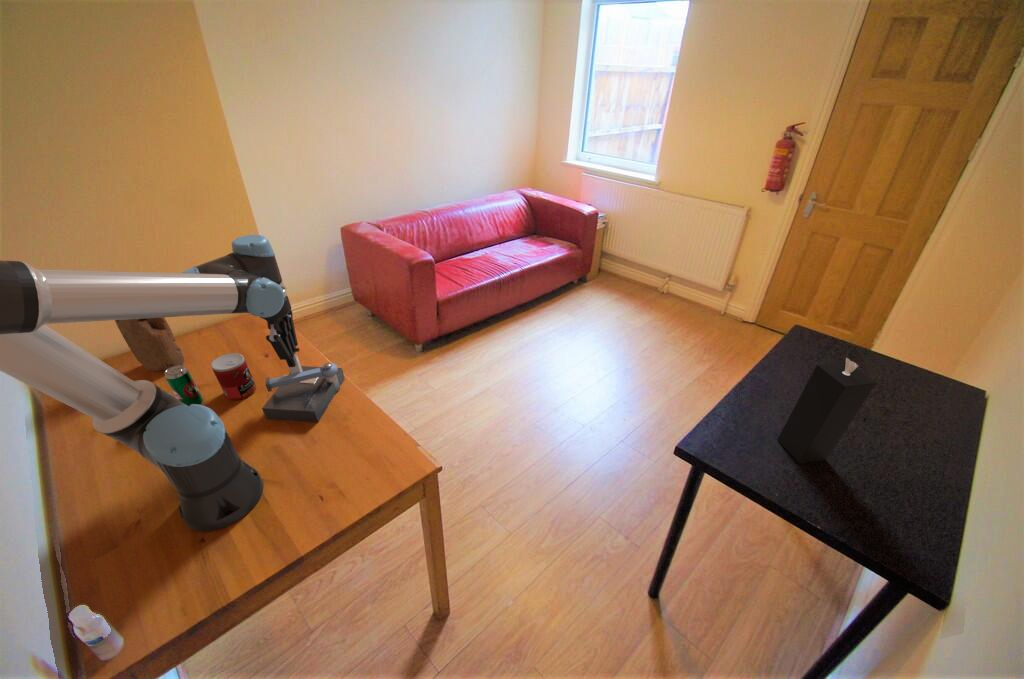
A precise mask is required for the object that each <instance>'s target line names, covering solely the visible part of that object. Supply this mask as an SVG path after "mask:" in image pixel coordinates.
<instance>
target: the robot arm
mask: <svg viewBox="0 0 1024 679" xmlns="http://www.w3.org/2000/svg"><path fill="white" fill-rule="evenodd" d="M231 248H232V249H231V251H232V252H230V253H228V254H226V255H224V256H220V257H218V258H216V259H213V260H209V261H207V262H205V263H201V264H199V265H194V266H193V267H191V268H189V269H187V270H184V271H182V272H156V271H155V272H153V271H152V272H151V271H150V272H147V271H111V270H81V269H80V270H76V269H75V270H74V269H44V268H43V269H42V268H41V269H40V268H39V269H37V268H35V267H34V266H32V265H30V264H29V263H28V262H26V261H21V260H19V261H18V260H2V259H1V260H0V372H2V373H4V374H6V375H7V376H9V377H12V378H14V379H15V380H17V381H20V382H22V383H23V384H25V385H28V386H29V387H32V388H33V389H36V390H38V391H39V392H41V393H43V394H45V395H47V396H49V397H51V398H53V399H55V400H57V401H59V402H61V403H62V404H65V405H67V406H69V407H70V408H72V409H75V410H76V411H79V412H80V413H83V414H84V415H87V417H90V418H92V427H93V428H94V430H96V431H97V432H99V433H101V434H103V435H105V436H107V437H109V438H111V439H114V440H115V441H117V442H118V443H121V444H123V445H125V446H127V447H129V448H130V449H132V450H133V451H135V452H136V453H138V454H139V455H141V456H142V457H143V458H145V459H146V460H147V461H148V462H150V463H151V464H152V465H154V466H155V467H157V468H158V469H159V470H160V471H161V472H162V473H163V475H165V477H166V478H167V480H168V481H169V483H171V486H172V487H173V488H174V489H175V491H176V493H177V494H178V495H177V496H178V497H177V499H178V502H179V507H178V510H179V516H180V518H181V519H182V520H183V523H185V525H186V527H189V529H191V530H192V531H196V532H213V531H217V530H220V529H223V528H227V527H228V526H230V525H233V524H234V523H236V522H239V521H240V520H241V519H242V518H244V517H245V516H246V515H247V514H249V513H250V512H251V511H252V510H253V509H254V508H255V506H256V505H257V504H258V502H259V500H260V499H261V497H262V495H263V491H264V482H263V479H262V477H261V475H260V473H259V472H258V471H257V470H256V469H255V468H254V467H253V466H251V465H250V464H249V463H247V462H245V461H244V460H242V459H241V458H240V455H239V453H238V451H237V450H236V448H235V446H234V444H233V442H232V440H231V438H230V436H229V434H228V433H227V430H226V427H225V424H224V422H223V421H222V419H221V418H220V416H218V414H217V413H216V412H215V411H214V410H213V409H212V408H210V407H207V406H206V405H202V404H201V405H198V404H191V405H190V406H187V405H186V404H184V403H182V402H181V401H179V400H178V399H177V398H176V396H175V395H172V394H171V393H169V392H167V391H165V390H164V389H163V388H161V387H159V386H158V385H156V384H155V383H154V382H151V381H150V380H145V379H139V380H138V379H137V380H133V379H131V378H129V377H128V376H127V375H124V374H123V373H121V372H120V371H119V370H116V369H115V368H114V367H112V366H110V364H107V363H106V362H104V361H103V360H101V359H100V358H98V357H96V356H94V355H93V353H92V354H91V353H90V352H88V351H87V350H85V349H84V348H82V347H80V346H79V345H78V344H76V343H74V342H73V341H71V340H70V339H69V338H67V337H65V336H64V335H62V334H61V333H59V332H57V331H56V330H54V329H52V328H51V327H49V326H48V325H51V324H55V325H56V324H67V323H68V324H71V323H72V324H73V323H86V322H103V321H104V322H107V321H115V320H126V319H144V318H162V317H164V318H175V317H177V318H178V317H195V316H196V317H197V316H212V315H214V316H215V315H230V314H232V315H233V314H250V315H252V316H255V317H259V318H261V319H263V320H264V321H266V324H267V328H268V329H269V335H266V336H265V339H266V341H268V343H270V345H271V347H272V348H273V350H274V352H275V353H276V355H277V357H278V358H279V360H280V361H283V360H285V361H286V365H287V368H288V370H289V373H291V374H295V373H299V372H303V371H302V368H301V366H302V365H301V362H300V360H299V357H298V355H297V353H298V352H300V347H297V346H298V345H299V344H298V338H297V334H296V328H295V323H294V318H293V311H292V304H291V303H290V299H289V296H288V295H287V286H286V285H284V281H283V278H282V274H281V271H280V268H279V266H278V261H277V259H276V254H275V252H274V249H273V248H272V244H271V243H270V240H269V239H268V238H267V237H266V236H264V235H260V234H246V235H242V236H239V237H237V238H235V239H234V240H232V241H231Z"/></svg>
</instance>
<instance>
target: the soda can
mask: <svg viewBox="0 0 1024 679" xmlns="http://www.w3.org/2000/svg"><path fill="white" fill-rule="evenodd" d="M164 379H165V381H166V382H167V384H168V386H169V388H170V389H171V391H172V393H173V395H174V397H175V398H176V399H178V400H179V401H181V402H182V403H184V404H186V405H187V406H190V405H191V404H198V405H202V404H203V402H204V398H203V395H202V393H201V392H200V390H199V388H198V386H197V384H196V382H195V381H194V378H193V377H192V375H191V373H190V371H189V370H188V367H185V366H184V365H182V364H181V365H176V366H173V367H170V368H168V369H167V370H164Z"/></svg>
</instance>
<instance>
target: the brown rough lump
mask: <svg viewBox="0 0 1024 679" xmlns="http://www.w3.org/2000/svg"><path fill="white" fill-rule="evenodd" d="M114 322H115V324H116V326H117V328H118V329H119V332H120V334H121V336H122V338H123V339H124V341H125V342H126V345H127V346H128V348H129V350H130V351H131V352H132V354H133V356H134V357H135V358H136V360H137V362H138V363H140V364H141V365H142V366H143V367H144V368H145V369H146V370H148V371H151V372H162V371H166V370H167V369H168V368H170V367H173V366H176V365H182V364H183V363H184V362H185V356H184V354H183V352H182V350H181V348H180V346H179V345H178V343H175V342H176V339H175V335H174V333H173V331H172V329H171V327H170V325H169V323H168V322H167V320H166V317H162V318H144V319H126V320H114Z"/></svg>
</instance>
